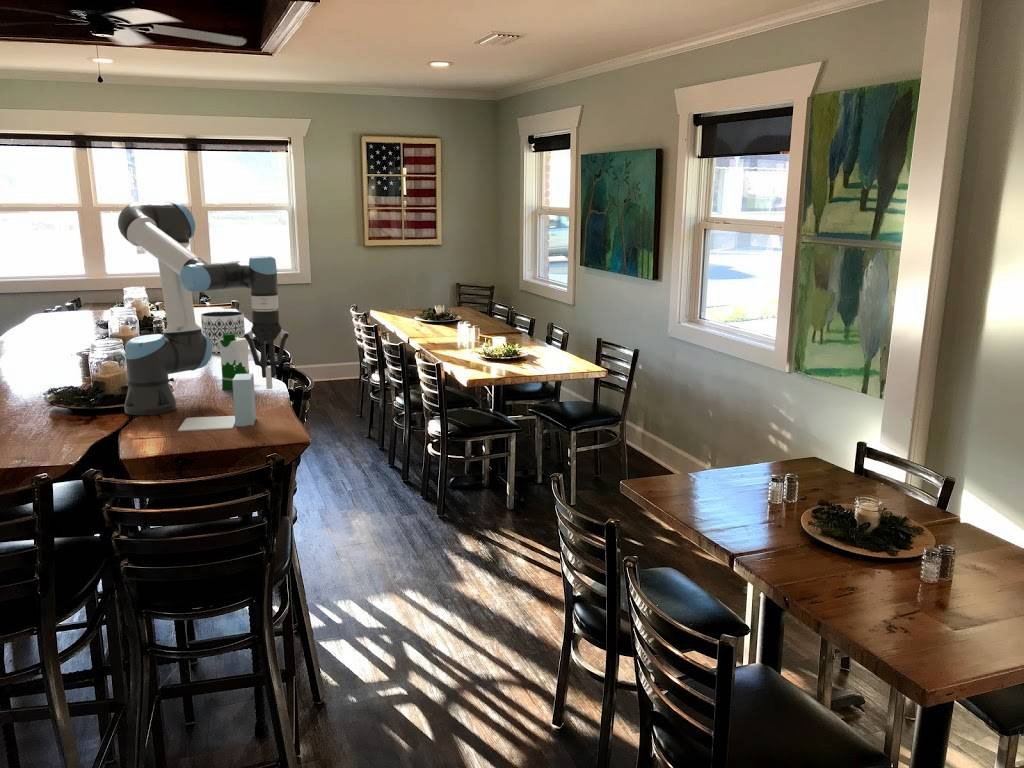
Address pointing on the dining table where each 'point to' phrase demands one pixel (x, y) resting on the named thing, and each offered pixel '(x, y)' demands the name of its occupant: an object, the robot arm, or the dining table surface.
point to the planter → (222, 326)
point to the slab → (244, 399)
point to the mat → (208, 423)
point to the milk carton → (233, 358)
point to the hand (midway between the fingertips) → (269, 387)
